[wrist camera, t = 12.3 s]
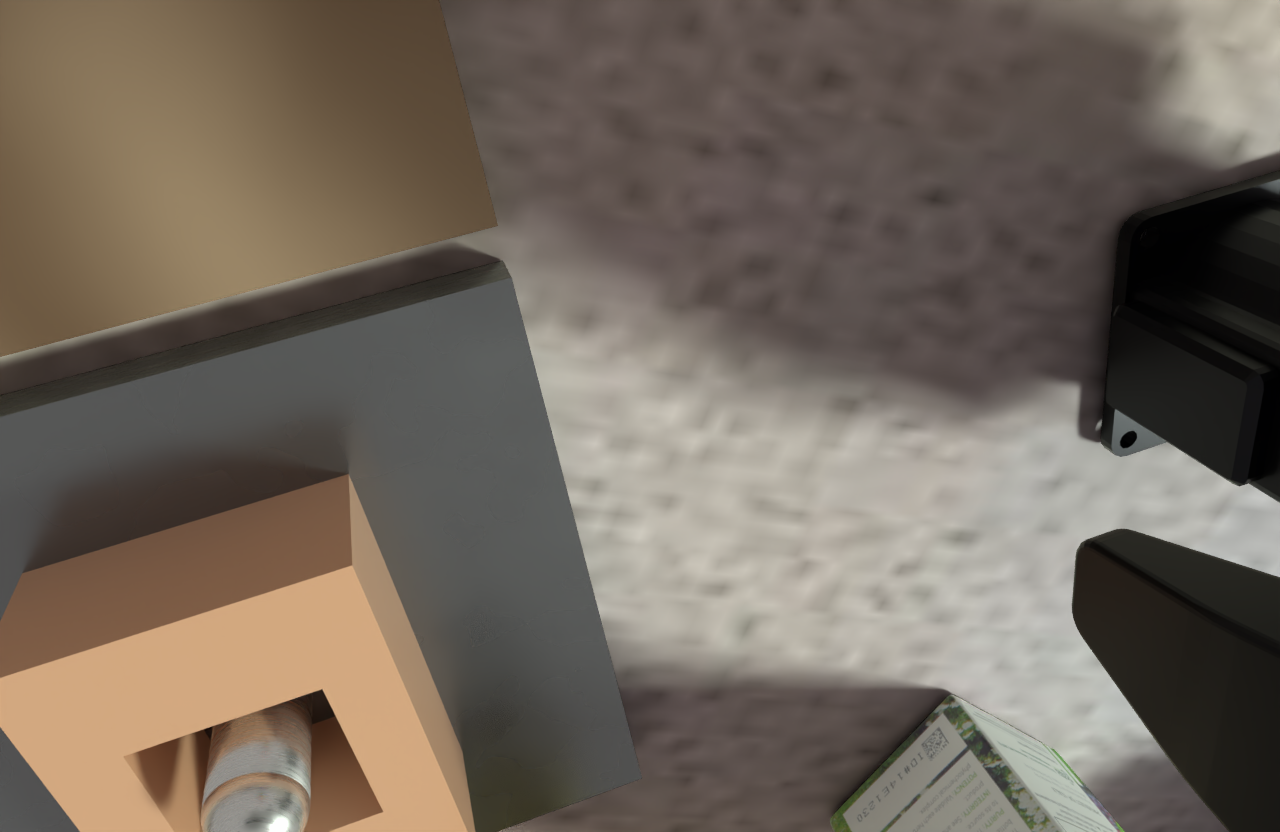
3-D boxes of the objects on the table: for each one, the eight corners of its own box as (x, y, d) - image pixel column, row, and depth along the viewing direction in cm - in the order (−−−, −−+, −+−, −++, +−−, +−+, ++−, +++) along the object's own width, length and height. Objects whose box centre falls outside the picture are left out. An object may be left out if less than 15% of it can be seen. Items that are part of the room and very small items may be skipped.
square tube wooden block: (348, 473, 18) (352, 564, 16) (462, 751, 22) (480, 859, 20) (21, 573, 17) (-30, 687, 15) (202, 844, 21) (185, 969, 19)
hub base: (502, 260, 18) (561, 378, 14) (631, 749, 25) (698, 934, 21) (-302, 477, 16) (-553, 704, 12) (85, 946, 23) (26, 1202, 19)
